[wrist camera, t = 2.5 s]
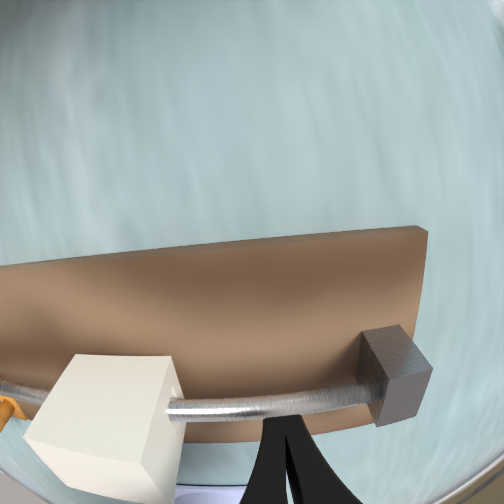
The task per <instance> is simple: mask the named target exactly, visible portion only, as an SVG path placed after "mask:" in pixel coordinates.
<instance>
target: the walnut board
mask: <svg viewBox="0 0 504 504" xmlns="http://www.w3.org/2000/svg"><path fill="white" fill-rule="evenodd" d="M427 239H428V231H426V230H425V229H423V228H421V227H419V226H404V227H392V228H379V229H366V230H354V231H342V232H330V233H318V234H307V235H295V236H284V237H273V238H262V239H251V240H240V241H230V242H219V243H209V244H199V245H189V246H178V247H169V248H159V249H149V250H139V251H130V252H120V253H111V254H102V255H92V256H83V257H74V258H65V259H57V260H48V261H39V262H31V263H22V264H14V265H6V266H0V378H1V379H5V380H9V381H13V382H18V383H23V384H28V385H33V386H38V387H44V388H49V389H53V387H54V386H55V384H56V383H57V381H58V379H59V378H60V376H61V375H62V373H63V372H64V370H65V369H66V367H67V366H68V365H69V363H70V362H71V360H72V359H73V357H74V356H75V354H84V355H107V356H171V358H172V361H173V364H174V368H175V371H176V374H177V377H178V381H179V384H180V387H181V390H182V393H183V396H184V399H221V398H240V397H254V396H266V395H276V394H286V393H294V392H302V391H309V390H316V389H323V388H329V387H335V386H341V385H347V384H352V383H357V380H356V371H357V364H358V357H359V349H360V341H361V332H362V331H365V330H370V329H376V328H382V327H387V326H392V325H397V324H400V326H401V327H402V328H403V330H404V331H405V332H406V333H407V335H408V336H409V337H410V339H411V340H413V335H414V330H415V325H416V320H417V315H418V309H419V303H420V297H421V291H422V284H423V276H424V268H425V260H426V250H427ZM40 408H41V405H37V404H32V403H28V402H24V401H20V400H16V399H13V398H9V397H6V396H2V395H0V433H1V431H2V429H3V428H4V426H5V425H6V423H7V422H8V420H9V418H10V417H11V416H13V417H16V418H19V419H22V420H26V421H27V419H29V420H33V419H34V417H35V416H36V414H37V413H38V411H39V409H40ZM302 417H303V420H304V422H305V425H306V427H307V429H308V431H309V433H310V435H316V434H322V433H328V432H333V431H339V430H344V429H349V428H354V427H358V426H363V425H367V424H371V423H375V422H374V420H373V418H372V415H371V413H370V411H369V408H368V406H367V404H361V405H356V406H351V407H346V408H341V409H336V410H330V411H324V412H318V413H311V414H304V415H302ZM262 428H263V419H257V420H242V421H220V422H186V428H185V434H184V439H183V443H235V442H253V441H261V436H262Z"/></svg>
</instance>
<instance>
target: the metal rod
mask: <svg viewBox="0 0 504 504" xmlns="http://www.w3.org/2000/svg"><path fill="white" fill-rule="evenodd" d="M432 370H433V368H432V366H431V365H430V364H429V362H428V361H427V360H426V358H425V357H424V356H423V354H422V353H421V352H420V350H419V349H418V348H417V346H416V345H415V344H414V342H413V341H412V340H411V339H410V337H409V336H408V335H407V333H406V332H405V331H404V330H403V328H402V327H401V326H400V324H397V325H392V326H387V327H382V328H376V329H370V330H365V331H362V332H361V341H360V349H359V357H358V364H357V371H356V380H357V383H352V384H347V385H341V386H335V387H329V388H323V389H316V390H309V391H302V392H294V393H286V394H276V395H266V396H254V397H240V398H221V399H169V403H168V407H167V411H166V412H167V415H168V417H169V420H170V421H172V422H220V421H242V420H257V419H265V418H268V417H278V416H287V415H296V414H300V415H304V414H311V413H318V412H324V411H330V410H336V409H341V408H346V407H351V406H356V405H361V404H367V406H368V408H369V411H370V413H371V415H372V418H373V420H374V422H375V425H376V427H380V426H384V425H388V424H391V423H395V422H398V421H402V420H405V419H408V418H412V417H415V416H416V414H417V412H418V409H419V407H420V404H421V402H422V399H423V396H424V393H425V391H426V388H427V385H428V382H429V379H430V376H431V373H432ZM51 390H52V389H49V388H44V387H38V386H33V385H28V384H23V383H18V382H13V381H9V380H5V379H1V378H0V395H2V396H6V397H9V398H13V399H16V400H20V401H24V402H28V403H32V404H37V405H41V406H42V404H43V403H44V401H45V400H46V398H47V396H48V395H49V393H50V392H51Z"/></svg>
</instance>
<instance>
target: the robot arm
mask: <svg viewBox="0 0 504 504" xmlns="http://www.w3.org/2000/svg"><path fill="white" fill-rule="evenodd" d="M286 471H287V475H288V480H289V484H290V489H291V493H292V497H293V502H294V504H363V503H362V502H361V501H359V500H358V499H357V498H356V497H355V496H354V495H353V493H352V492H351V491H350V490H349V489H348V488H347V487H346V486H345V485H344V484H343V482H342V481H341V480H340V479H339V477H338V476H337V475H336V474H335V472H334V471H333V470H332V468H331V467H330V466H329V464H328V463H327V461H326V460H325V458H324V457H323V455H322V454H321V452H320V451H319V449H318V447H317V446H316V444H315V442H314V441H313V439H312V437H311V435H310V433H309V431H308V429H307V427H306V425H305V422H304V420H303V417H302V415H300V414H296V415H287V416H278V417H268V418H265V419H263V428H262V436H261V442H260V447H259V451H258V455H257V458H256V462H255V465H254V468H253V471H252V474H251V477H250V479H249V482H248V484H247V486H230V487H209V486H184V485H176V490H175V496H174V503H173V504H288V500H287V493H286Z"/></svg>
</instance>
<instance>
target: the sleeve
mask: <svg viewBox="0 0 504 504" xmlns="http://www.w3.org/2000/svg"><path fill="white" fill-rule="evenodd" d="M169 399H184V396H183V393H182V390H181V387H180V384H179V381H178V377H177V374H176V371H175V368H174V364H173V361H172V358H171V356H107V355H84V354H75V356H74V357H73V359H72V360H71V362H70V363H69V365H68V366H67V367H66V369H65V370H64V372H63V373H62V375H61V376H60V378H59V379H58V381H57V383H56V384H55V386H54V387H53V389H52V390H51V392H50V393H49V395H48V396H47V398H46V400H45V401H44V403H43V404H42V406H41V408H40V409H39V411H38V413H37V414H36V416H35V417H34V419H33V421H32V422H31V424H30V426H29V428H28V429H27V431H26V433H25V434H24V436H23V438H24V439H25V440H26V441H27V443H28V444H29V445H30V446H31V447H32V449H33V450H34V451H35V452H36V453H37V455H38V456H39V457H40V458H41V459H42V460H43V461H44V462H45V464H46V465H47V466H48V467H49V468H50V469H51V470H52V471H53V472H54V473H55V474H56V475H57V476H58V477H59V478H60V480H61V481H62V482H63V483H64V484H65V485H67V486H68V487H72V488H75V489H79V490H82V491H86V492H90V493H94V494H98V495H102V496H106V497H111V498H115V499H120V500H125V501H131V502H137V503H143V504H173V503H174V496H175V490H176V483H177V477H178V470H179V464H180V458H181V452H182V445H183V439H184V434H185V428H186V422H172V421H170V420H169V417H168V415H167V412H166V411H167V407H168V403H169Z"/></svg>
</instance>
